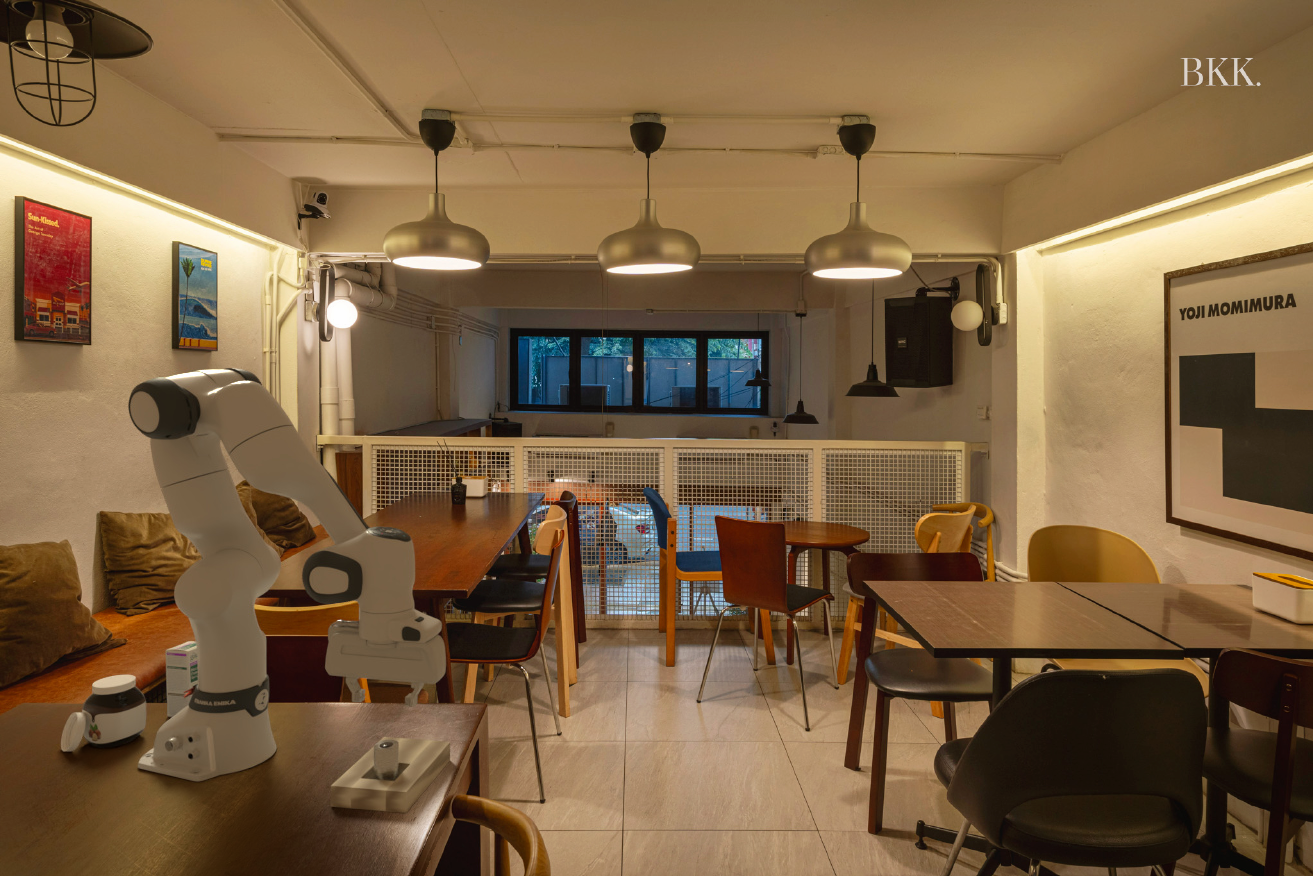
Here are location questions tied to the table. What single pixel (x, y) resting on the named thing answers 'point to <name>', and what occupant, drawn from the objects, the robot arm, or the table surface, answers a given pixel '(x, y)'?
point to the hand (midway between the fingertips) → (384, 703)
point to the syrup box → (180, 675)
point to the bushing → (386, 760)
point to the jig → (415, 775)
